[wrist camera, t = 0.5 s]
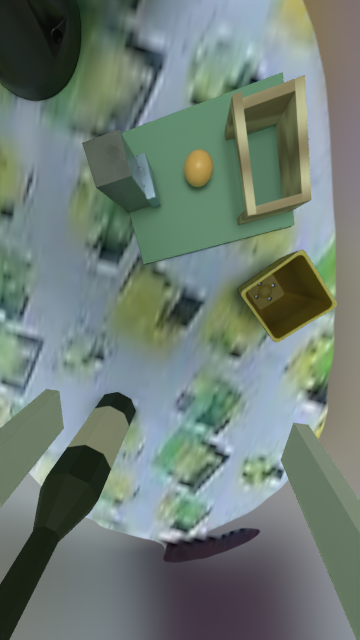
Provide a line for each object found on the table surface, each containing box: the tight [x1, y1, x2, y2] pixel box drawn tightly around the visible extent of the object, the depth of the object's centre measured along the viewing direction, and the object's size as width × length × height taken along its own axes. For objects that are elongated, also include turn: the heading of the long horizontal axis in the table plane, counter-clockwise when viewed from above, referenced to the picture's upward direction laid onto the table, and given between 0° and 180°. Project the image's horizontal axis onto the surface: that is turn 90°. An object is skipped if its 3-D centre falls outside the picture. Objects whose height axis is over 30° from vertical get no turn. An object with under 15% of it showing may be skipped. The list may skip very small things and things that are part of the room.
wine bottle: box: [0, 392, 135, 640], centre depth 28 cm, size 8×8×30 cm
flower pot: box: [238, 250, 337, 343], centre depth 28 cm, size 9×9×9 cm
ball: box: [184, 149, 213, 187], centre depth 26 cm, size 4×4×4 cm
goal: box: [224, 75, 311, 225], centre depth 24 cm, size 12×8×6 cm, turn 14°
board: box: [121, 72, 294, 264], centre depth 28 cm, size 18×24×1 cm
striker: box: [82, 129, 161, 212], centre depth 24 cm, size 5×5×10 cm
